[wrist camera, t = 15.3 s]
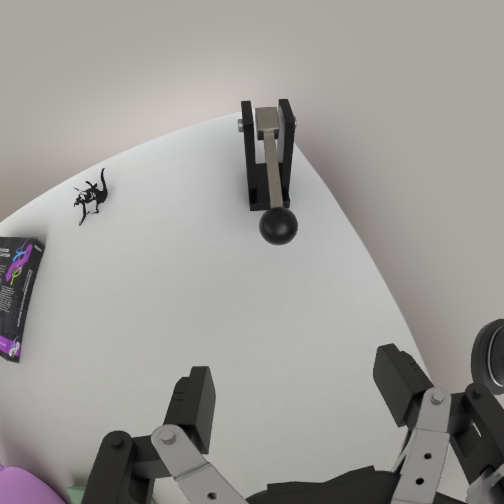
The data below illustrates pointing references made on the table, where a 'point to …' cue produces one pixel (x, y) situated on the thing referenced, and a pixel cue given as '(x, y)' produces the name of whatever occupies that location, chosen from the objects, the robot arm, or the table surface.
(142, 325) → the table surface
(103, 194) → the creature
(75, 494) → the control block
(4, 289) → the box
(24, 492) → the teapot
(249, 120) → the black lever mount
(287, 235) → the lever
